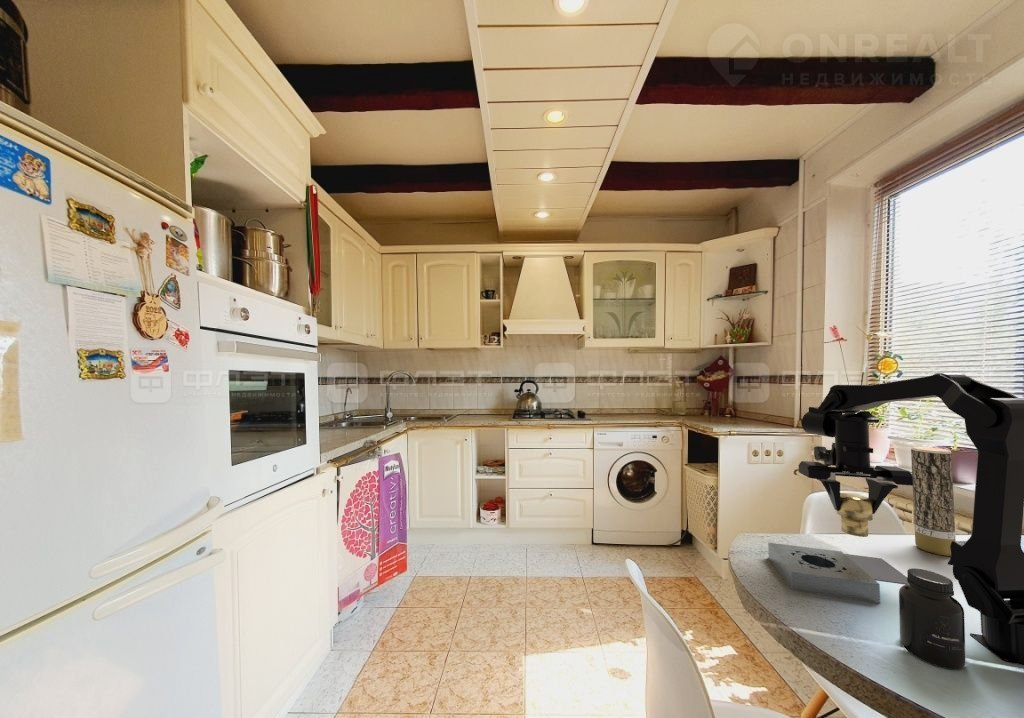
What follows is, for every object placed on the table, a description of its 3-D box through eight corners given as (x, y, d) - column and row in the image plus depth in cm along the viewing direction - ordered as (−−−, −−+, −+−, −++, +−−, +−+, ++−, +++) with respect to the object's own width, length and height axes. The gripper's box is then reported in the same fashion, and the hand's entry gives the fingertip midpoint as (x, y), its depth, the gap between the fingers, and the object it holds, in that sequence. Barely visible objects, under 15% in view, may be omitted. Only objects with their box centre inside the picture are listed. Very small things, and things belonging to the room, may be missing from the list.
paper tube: (941, 546, 96) (936, 447, 97) (965, 558, 89) (959, 452, 90) (908, 543, 98) (903, 445, 99) (928, 555, 91) (924, 450, 92)
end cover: (880, 540, 80) (878, 503, 80) (845, 536, 81) (844, 500, 82) (863, 528, 85) (861, 494, 86) (831, 525, 87) (830, 492, 87)
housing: (880, 606, 71) (879, 584, 71) (792, 592, 75) (791, 571, 75) (841, 569, 84) (841, 551, 84) (768, 559, 88) (768, 542, 88)
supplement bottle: (948, 676, 54) (944, 590, 55) (889, 643, 61) (886, 567, 61) (978, 666, 56) (974, 583, 56) (918, 636, 62) (914, 562, 63)
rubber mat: (918, 588, 77) (917, 585, 77) (857, 579, 80) (857, 576, 80) (881, 560, 88) (881, 558, 88) (829, 554, 91) (829, 551, 91)
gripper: (879, 437, 89) (882, 504, 89) (787, 433, 95) (789, 496, 94) (914, 445, 79) (917, 521, 78) (808, 440, 84) (810, 512, 83)
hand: (854, 511), depth 83 cm, fingers closed on end cover, 6 cm apart
